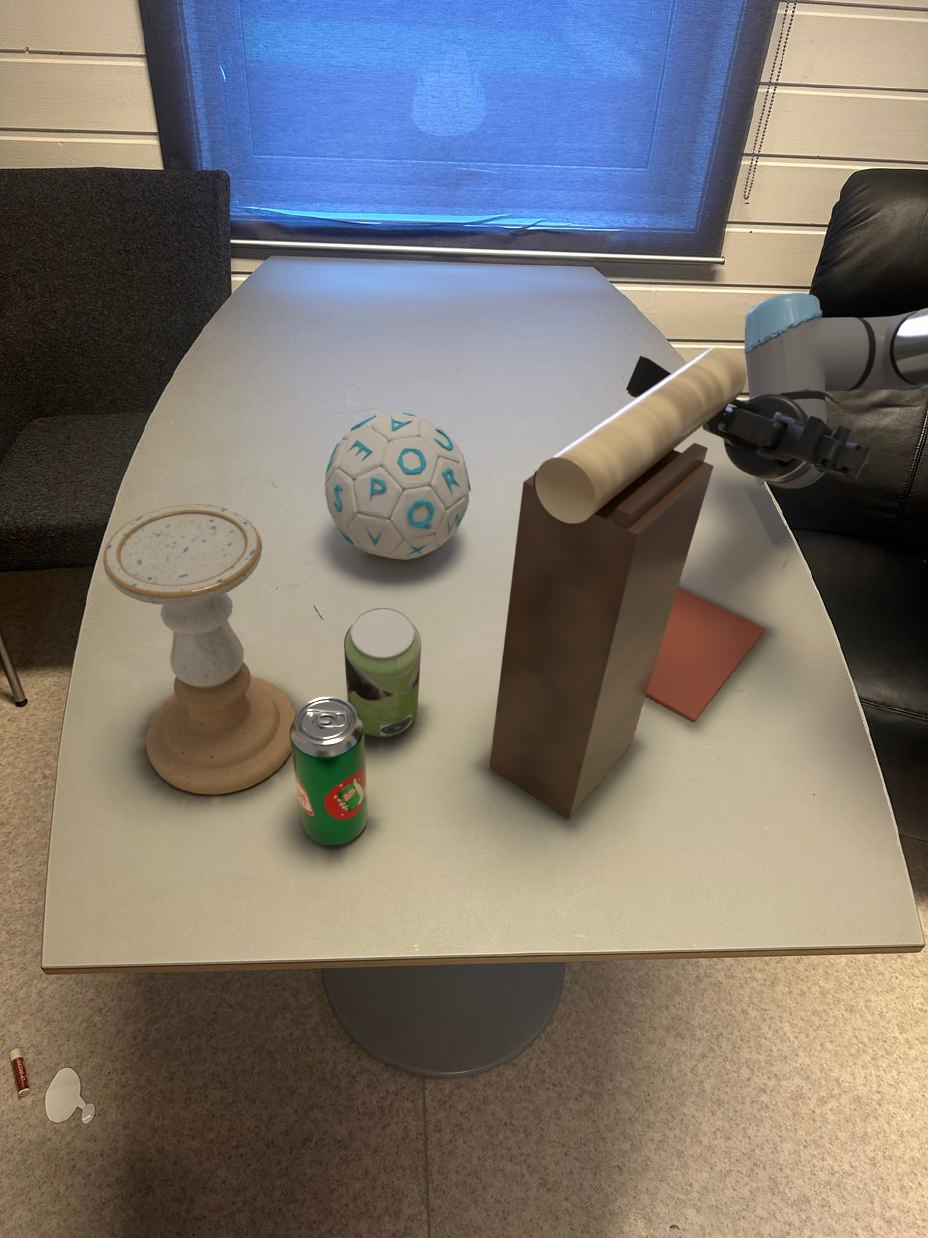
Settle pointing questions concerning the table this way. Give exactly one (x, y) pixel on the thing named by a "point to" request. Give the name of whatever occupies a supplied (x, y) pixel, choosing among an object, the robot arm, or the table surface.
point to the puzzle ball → (397, 486)
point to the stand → (590, 628)
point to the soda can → (330, 770)
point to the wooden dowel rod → (638, 436)
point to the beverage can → (383, 670)
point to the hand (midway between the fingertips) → (717, 403)
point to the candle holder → (203, 648)
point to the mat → (698, 653)
